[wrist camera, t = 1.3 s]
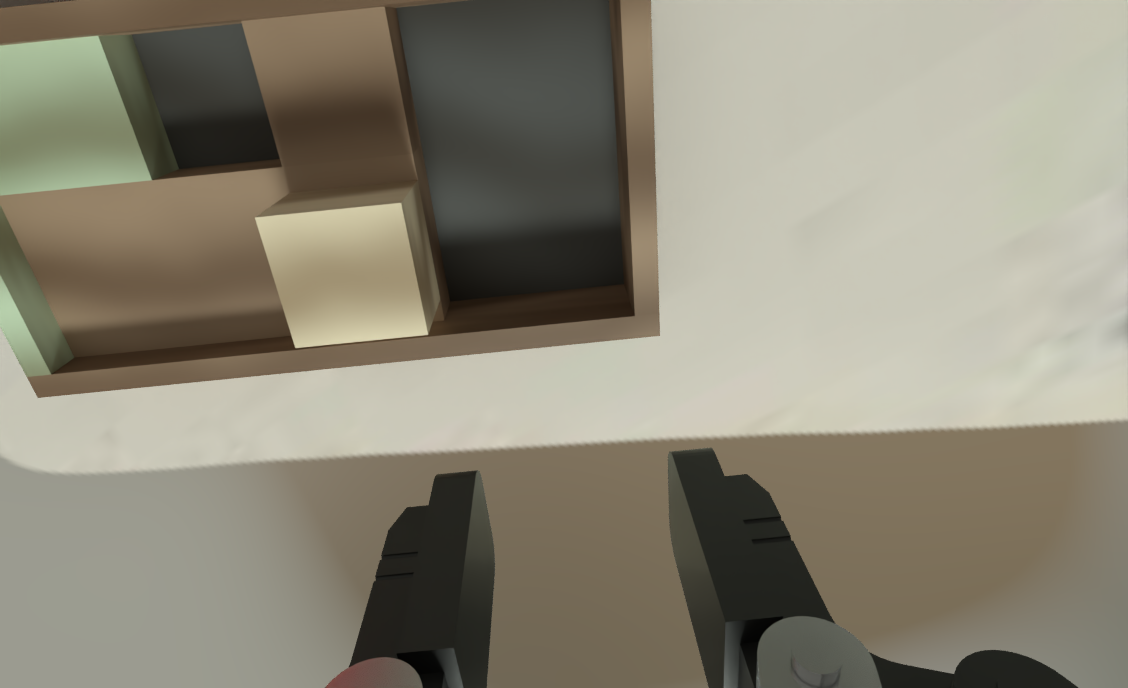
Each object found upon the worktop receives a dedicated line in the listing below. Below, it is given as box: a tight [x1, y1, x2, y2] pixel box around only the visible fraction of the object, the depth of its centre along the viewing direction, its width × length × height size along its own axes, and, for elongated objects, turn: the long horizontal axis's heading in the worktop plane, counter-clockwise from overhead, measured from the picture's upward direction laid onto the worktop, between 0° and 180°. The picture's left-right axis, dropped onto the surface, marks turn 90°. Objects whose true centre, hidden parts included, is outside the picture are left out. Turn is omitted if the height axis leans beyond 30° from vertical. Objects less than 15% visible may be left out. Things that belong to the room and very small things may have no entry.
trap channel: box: [0, 0, 660, 398], centre depth 26 cm, size 14×26×4 cm, turn 95°
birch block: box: [255, 180, 440, 348], centre depth 25 cm, size 5×5×4 cm
